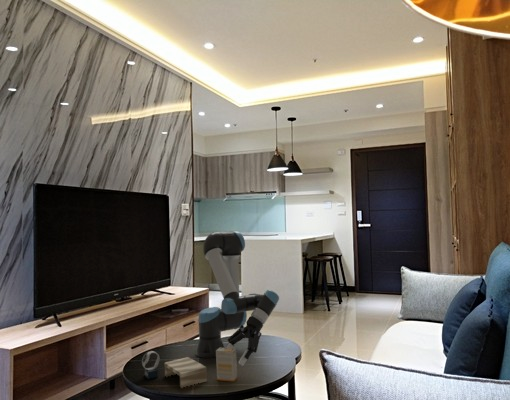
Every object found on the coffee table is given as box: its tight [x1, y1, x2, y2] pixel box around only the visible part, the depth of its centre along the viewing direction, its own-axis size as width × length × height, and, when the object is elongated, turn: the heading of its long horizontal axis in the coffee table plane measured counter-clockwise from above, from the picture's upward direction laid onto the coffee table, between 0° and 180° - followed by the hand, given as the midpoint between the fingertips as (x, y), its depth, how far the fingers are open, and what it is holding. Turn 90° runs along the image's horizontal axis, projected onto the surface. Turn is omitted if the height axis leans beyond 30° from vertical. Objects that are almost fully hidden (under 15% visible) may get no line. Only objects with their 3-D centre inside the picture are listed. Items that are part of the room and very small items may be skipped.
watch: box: [141, 350, 161, 380], centre depth 184 cm, size 6×8×11 cm
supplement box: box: [215, 347, 238, 382], centre depth 178 cm, size 8×5×13 cm, turn 71°
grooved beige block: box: [164, 356, 208, 389], centre depth 180 cm, size 18×12×6 cm, turn 36°
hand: (231, 360), depth 177 cm, fingers open, 13 cm apart
